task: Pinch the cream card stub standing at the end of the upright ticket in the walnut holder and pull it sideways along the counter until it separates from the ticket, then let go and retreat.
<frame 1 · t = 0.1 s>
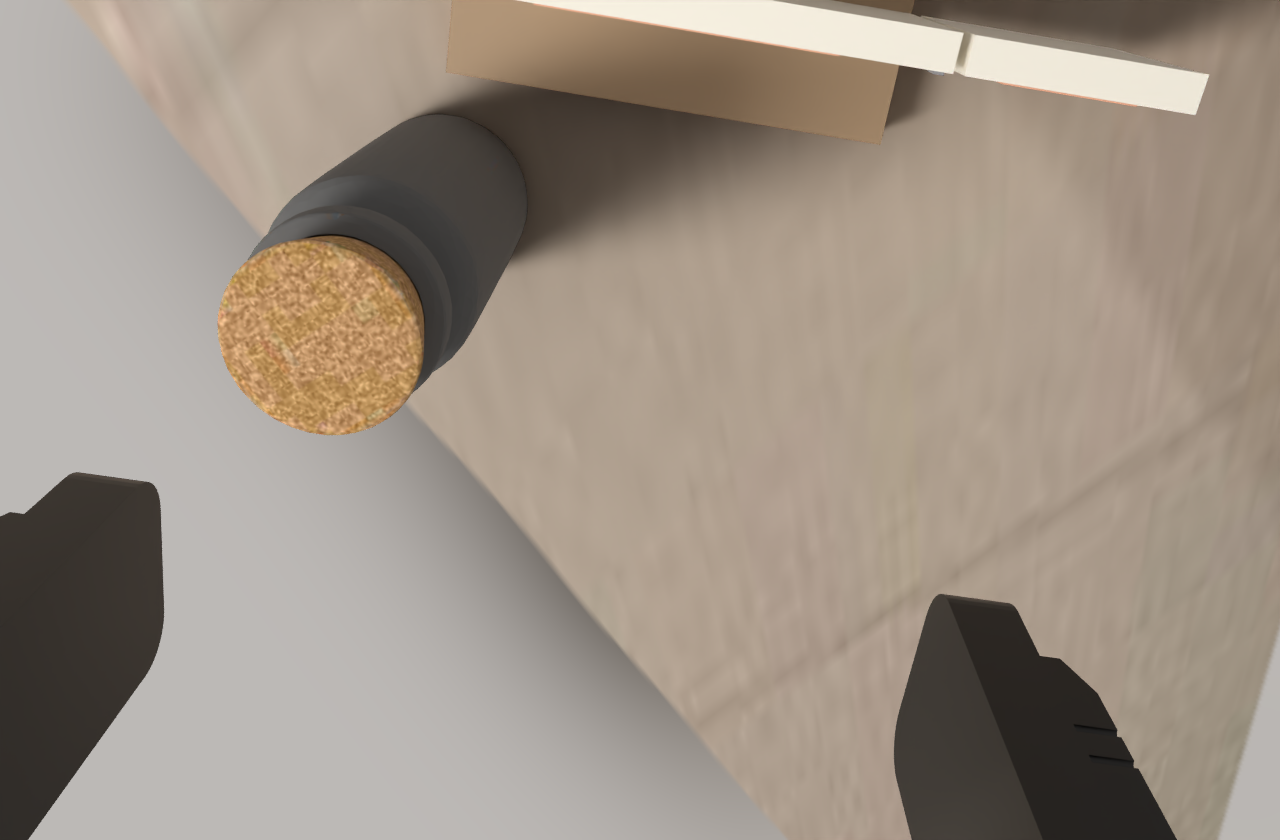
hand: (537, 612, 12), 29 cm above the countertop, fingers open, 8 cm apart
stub: (1045, 62, 32), point 6 cm above the countertop, slide at 0.0 cm
bottle: (446, 197, 40), on the countertop
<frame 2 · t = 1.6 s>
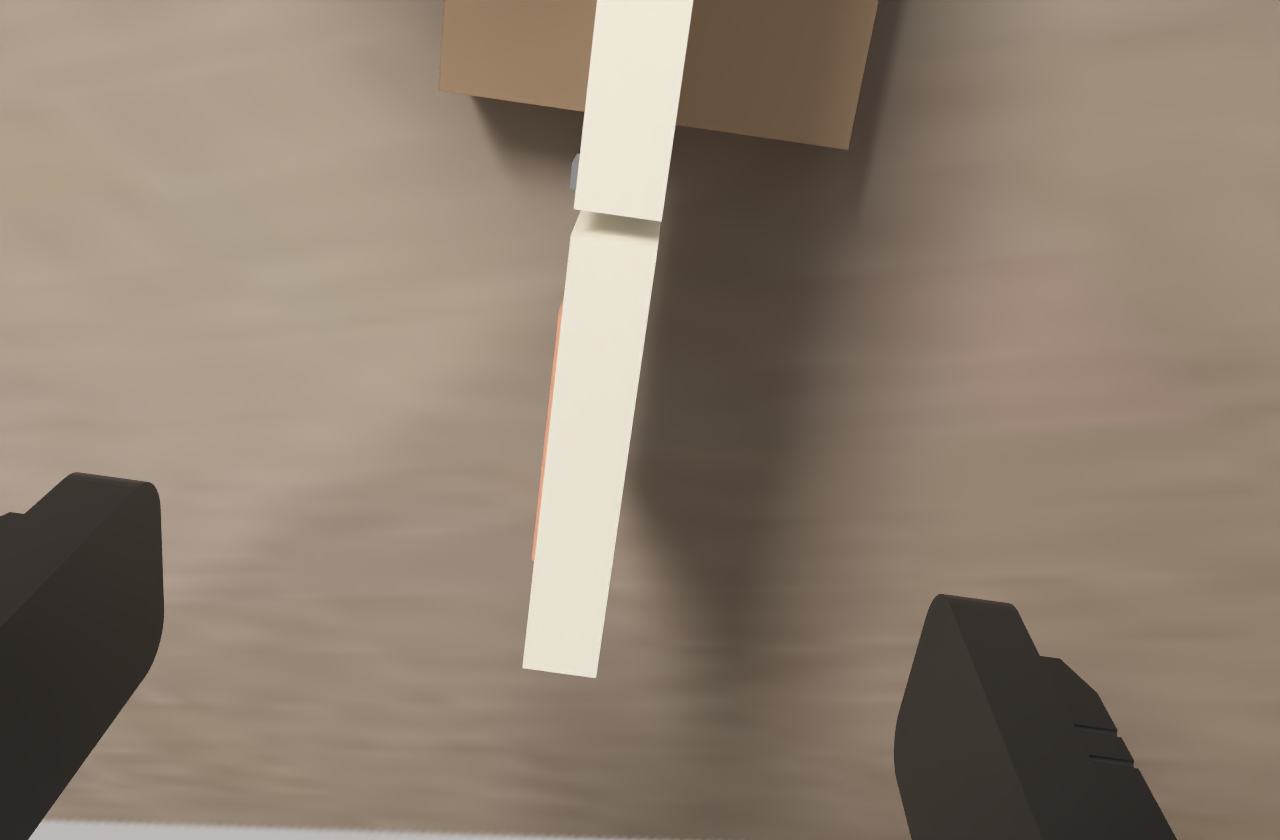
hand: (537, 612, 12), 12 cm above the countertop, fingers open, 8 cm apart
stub: (601, 374, 17), point 5 cm above the countertop, slide at 0.0 cm
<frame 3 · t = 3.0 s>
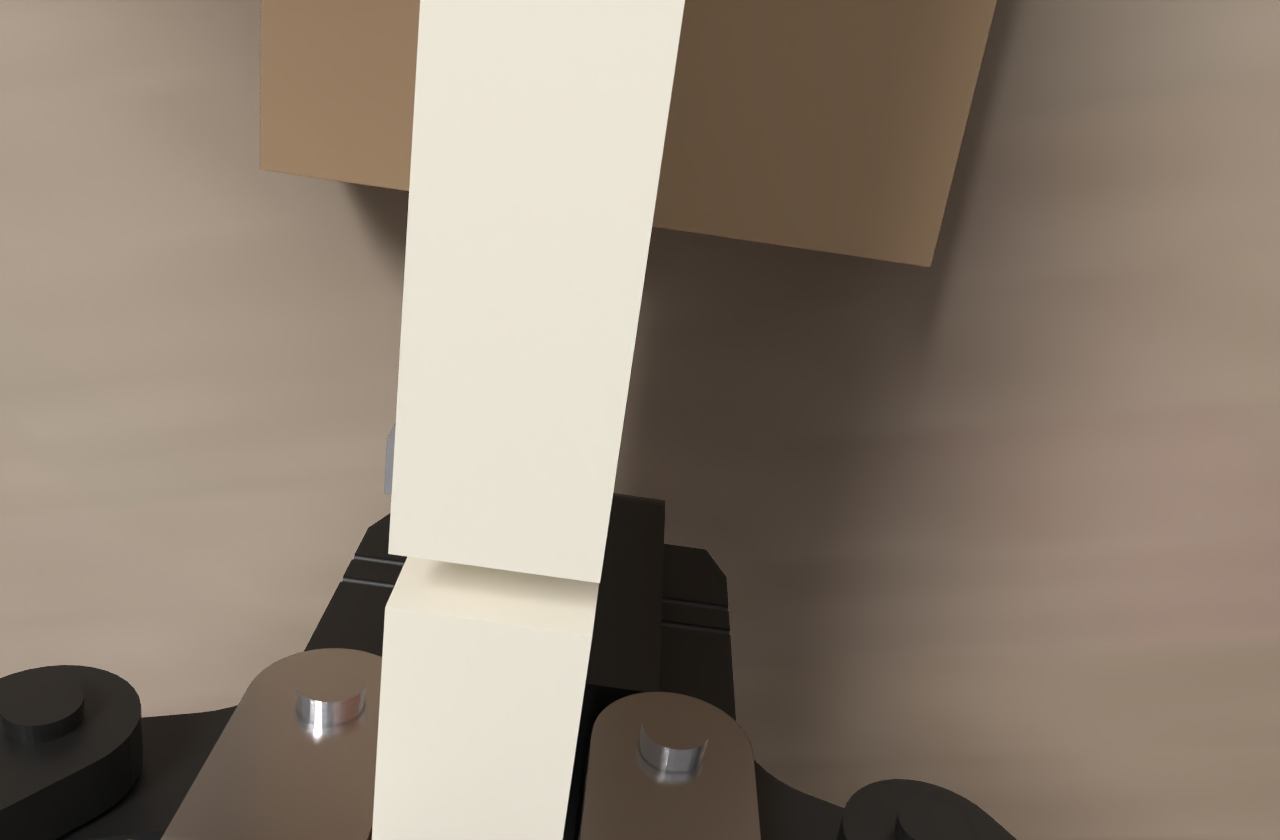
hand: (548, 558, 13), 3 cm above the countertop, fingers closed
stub: (517, 684, 10), point 6 cm above the countertop, slide at 0.0 cm, touching gripper
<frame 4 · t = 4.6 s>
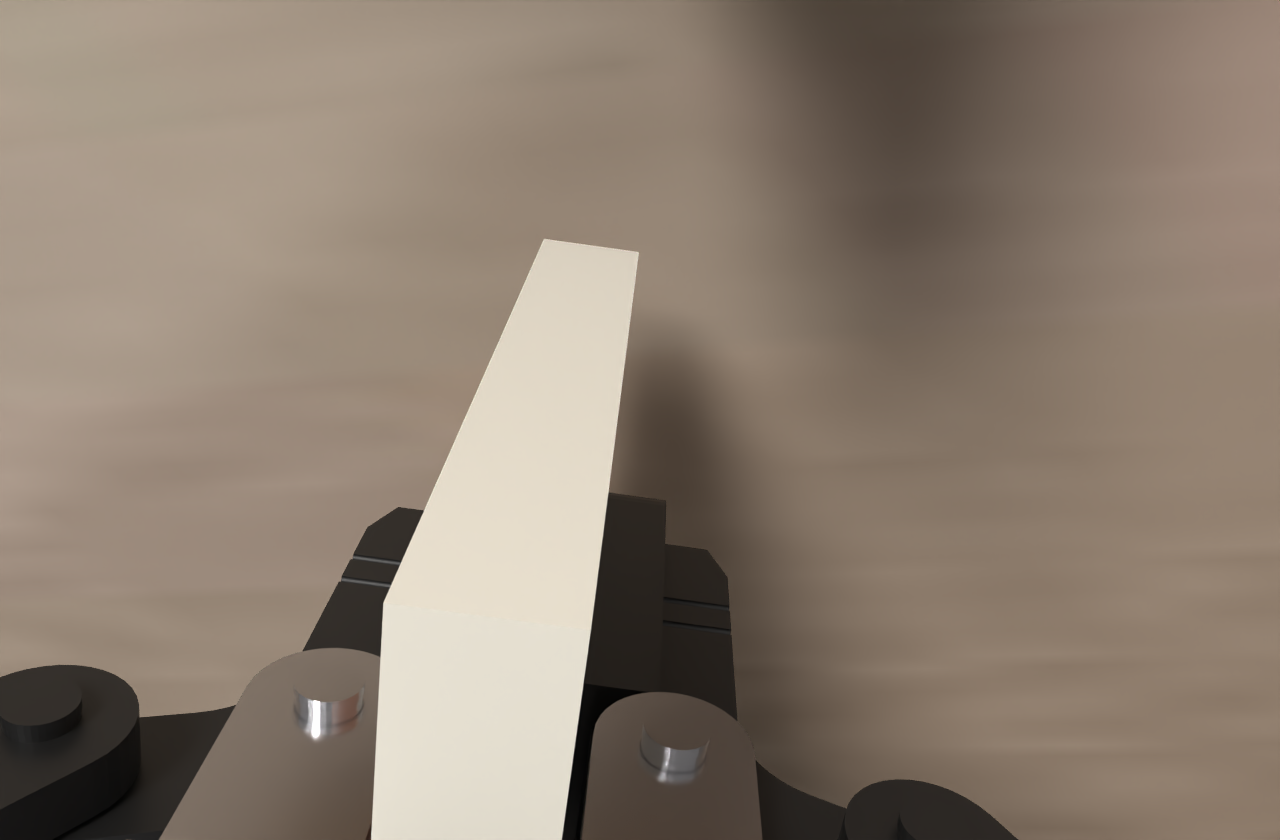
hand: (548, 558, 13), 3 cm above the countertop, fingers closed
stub: (516, 682, 10), point 5 cm above the countertop, slide at 5.1 cm, touching gripper
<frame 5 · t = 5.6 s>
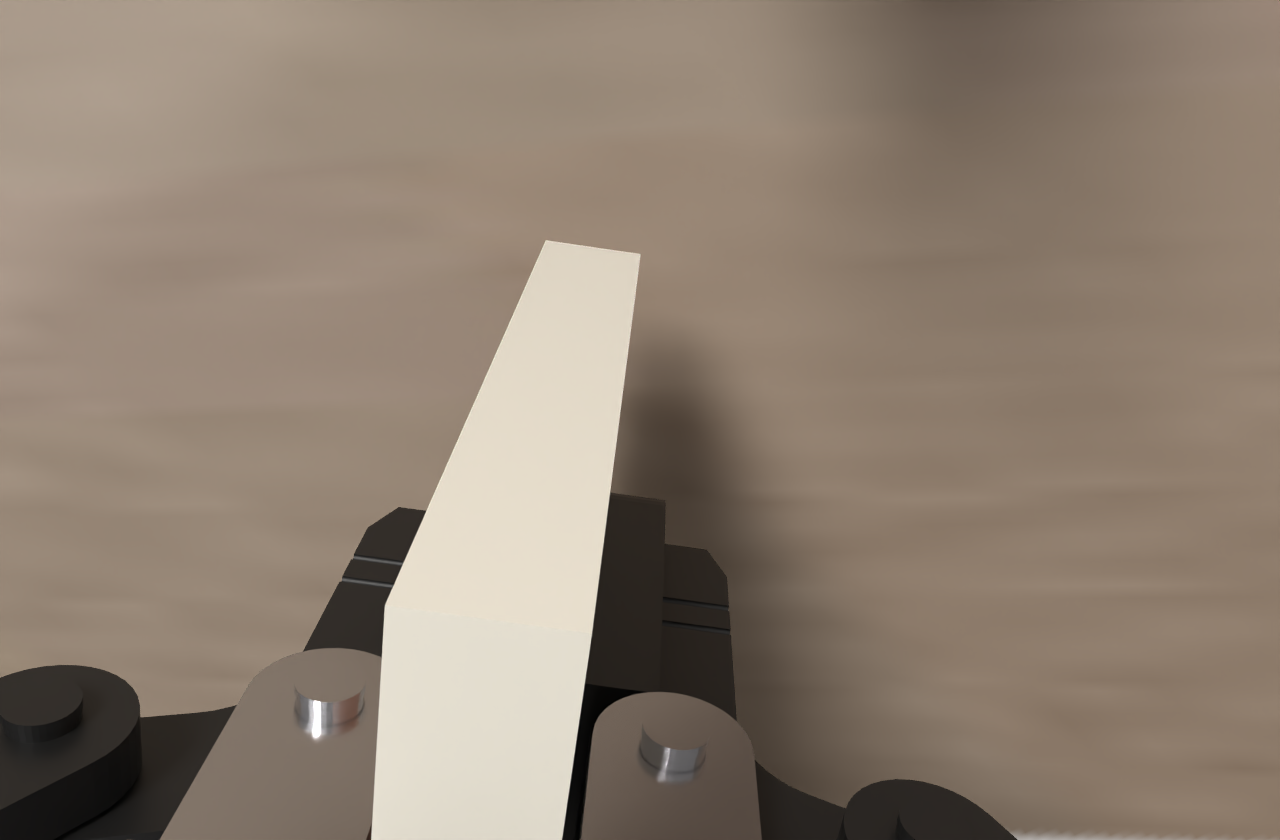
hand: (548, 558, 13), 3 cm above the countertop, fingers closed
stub: (516, 684, 10), point 6 cm above the countertop, slide at 7.9 cm, touching gripper
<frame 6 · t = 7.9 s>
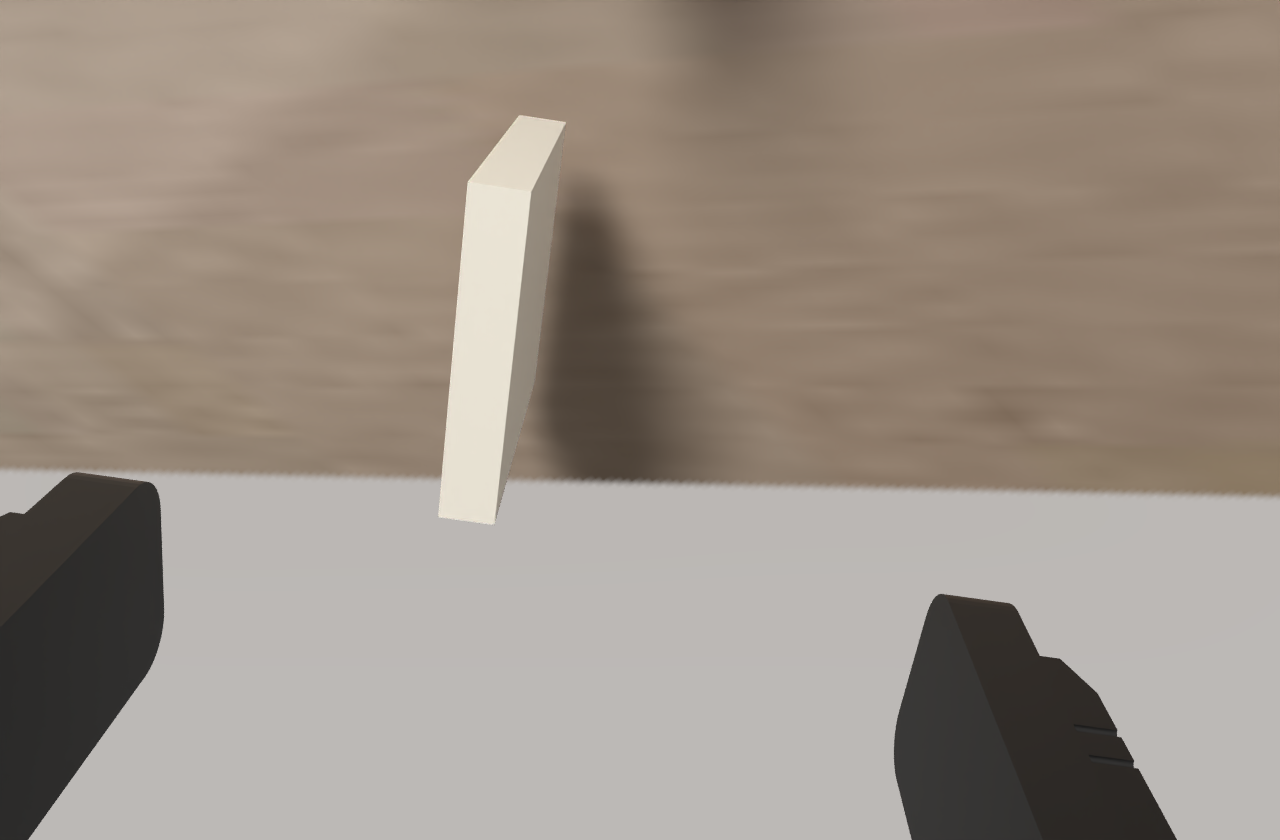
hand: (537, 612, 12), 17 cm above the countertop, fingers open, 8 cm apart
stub: (505, 300, 22), point 5 cm above the countertop, slide at 7.9 cm
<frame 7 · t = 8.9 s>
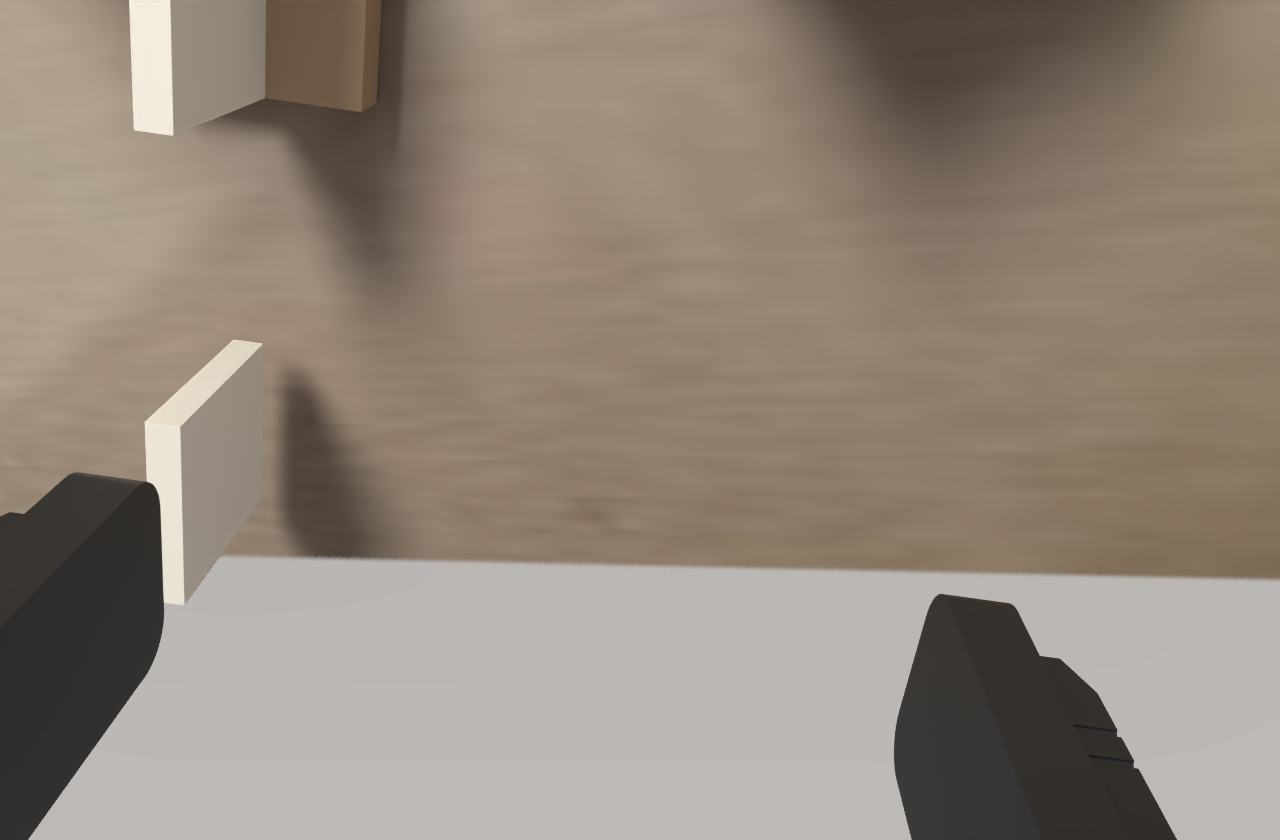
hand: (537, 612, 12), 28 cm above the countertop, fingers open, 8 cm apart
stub: (208, 464, 37), point 5 cm above the countertop, slide at 7.9 cm
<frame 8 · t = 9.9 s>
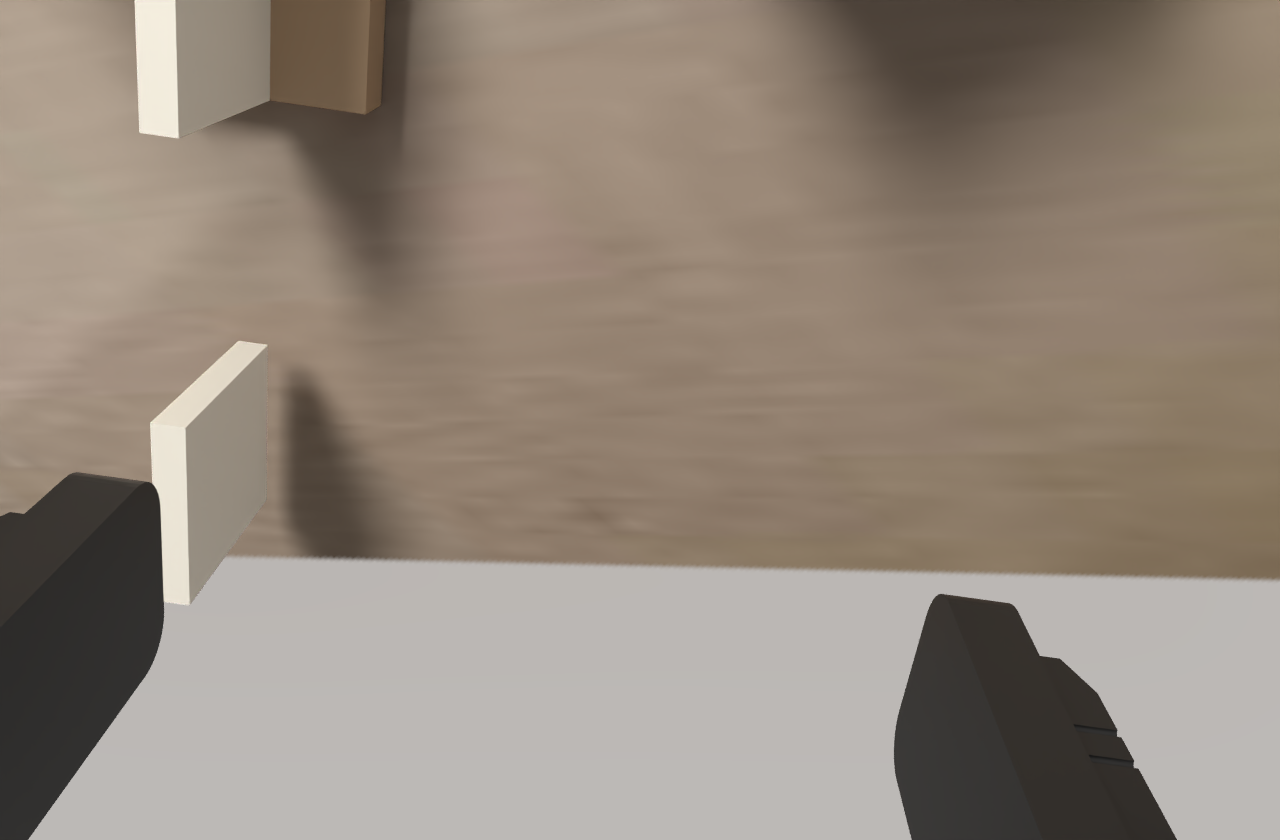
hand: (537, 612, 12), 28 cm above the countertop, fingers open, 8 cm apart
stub: (213, 465, 37), point 5 cm above the countertop, slide at 7.9 cm
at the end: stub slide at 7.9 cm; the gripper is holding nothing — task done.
